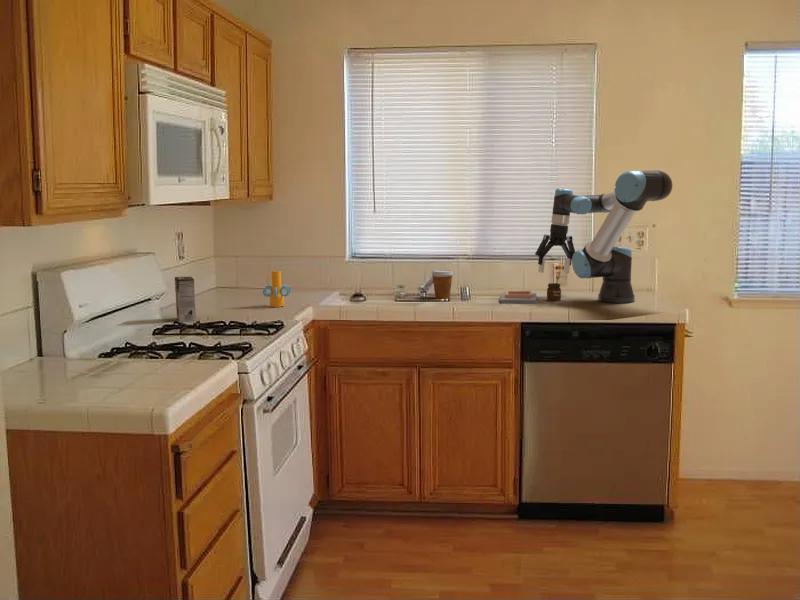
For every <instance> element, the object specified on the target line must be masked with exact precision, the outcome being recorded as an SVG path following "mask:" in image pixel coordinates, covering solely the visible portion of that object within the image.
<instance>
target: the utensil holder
mask: <svg viewBox="0 0 800 600" xmlns="http://www.w3.org/2000/svg"><path fill="white" fill-rule="evenodd" d="M560 276H561V271H557V272H556V277H553V275H552V274H550V275H549V277H550V278H552V280H555V279H556V282H553V281H550V282H549V283H548V284H547V289H546V300H547V301H549V302H550V301H551V302H558V301H561V300H562V299H561V298H562V289H561V284H560V283H558V281H559V279H560Z"/></svg>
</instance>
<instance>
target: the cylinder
mask: <svg viewBox="0 0 800 600" xmlns="http://www.w3.org/2000/svg"><path fill="white" fill-rule="evenodd" d="M270 275H271V276H270V277H271V280H270V281H271V285H269V284H268V285H266V286H265V287H264V288H263V290H262V294H263V296H264V297H268V298H269V306H271V308H280V307H279V306H283V307H285V297H288V295H290V293H291V287H290V286H289V285H287V284H285V285H283V286H282V270H277V269H276V270H275V269H274V270H271V274H270ZM267 289H269V290H270V293H268V291H267ZM284 289H285V290H286V293H285V292H284Z"/></svg>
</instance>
